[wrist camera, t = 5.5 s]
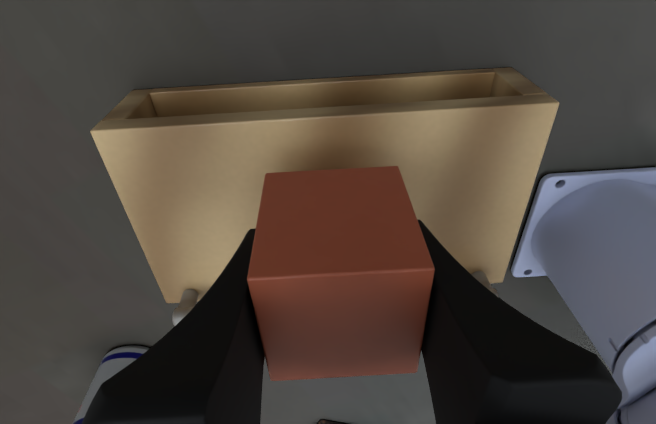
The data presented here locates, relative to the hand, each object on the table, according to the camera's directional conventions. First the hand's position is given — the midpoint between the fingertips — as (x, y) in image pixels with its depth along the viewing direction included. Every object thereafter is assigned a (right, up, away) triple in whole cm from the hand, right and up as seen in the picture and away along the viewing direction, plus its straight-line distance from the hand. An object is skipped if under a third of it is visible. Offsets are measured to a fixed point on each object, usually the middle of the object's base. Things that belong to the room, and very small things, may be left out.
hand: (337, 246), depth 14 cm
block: (0, +1, +1) cm, 1 cm away
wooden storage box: (0, +4, +8) cm, 9 cm away
